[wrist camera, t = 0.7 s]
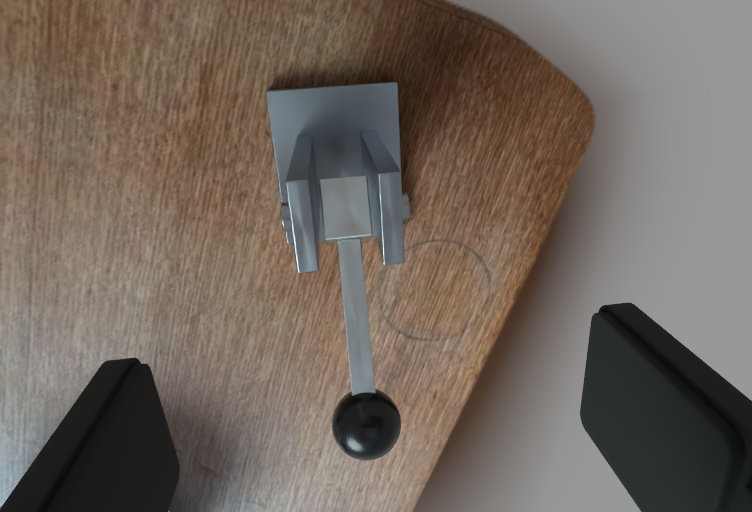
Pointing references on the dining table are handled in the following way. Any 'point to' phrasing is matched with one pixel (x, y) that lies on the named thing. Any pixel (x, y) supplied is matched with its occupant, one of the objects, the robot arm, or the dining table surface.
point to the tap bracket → (338, 160)
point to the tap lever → (356, 324)
